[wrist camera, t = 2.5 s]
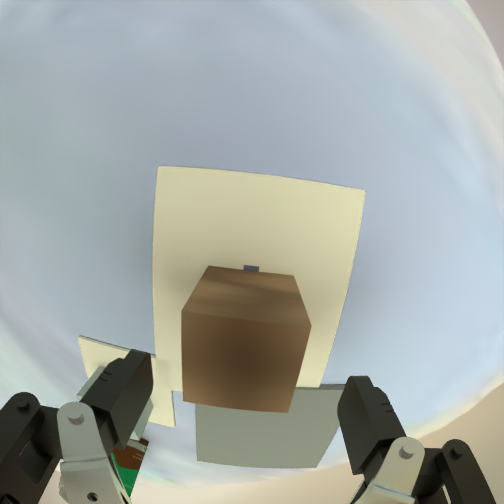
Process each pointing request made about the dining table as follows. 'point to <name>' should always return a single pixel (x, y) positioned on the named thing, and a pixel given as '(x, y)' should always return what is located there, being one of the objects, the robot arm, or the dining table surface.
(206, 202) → the plaque
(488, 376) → the dining table surface
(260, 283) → the block
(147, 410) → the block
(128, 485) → the food container
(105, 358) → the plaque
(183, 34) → the dining table surface
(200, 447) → the mat
